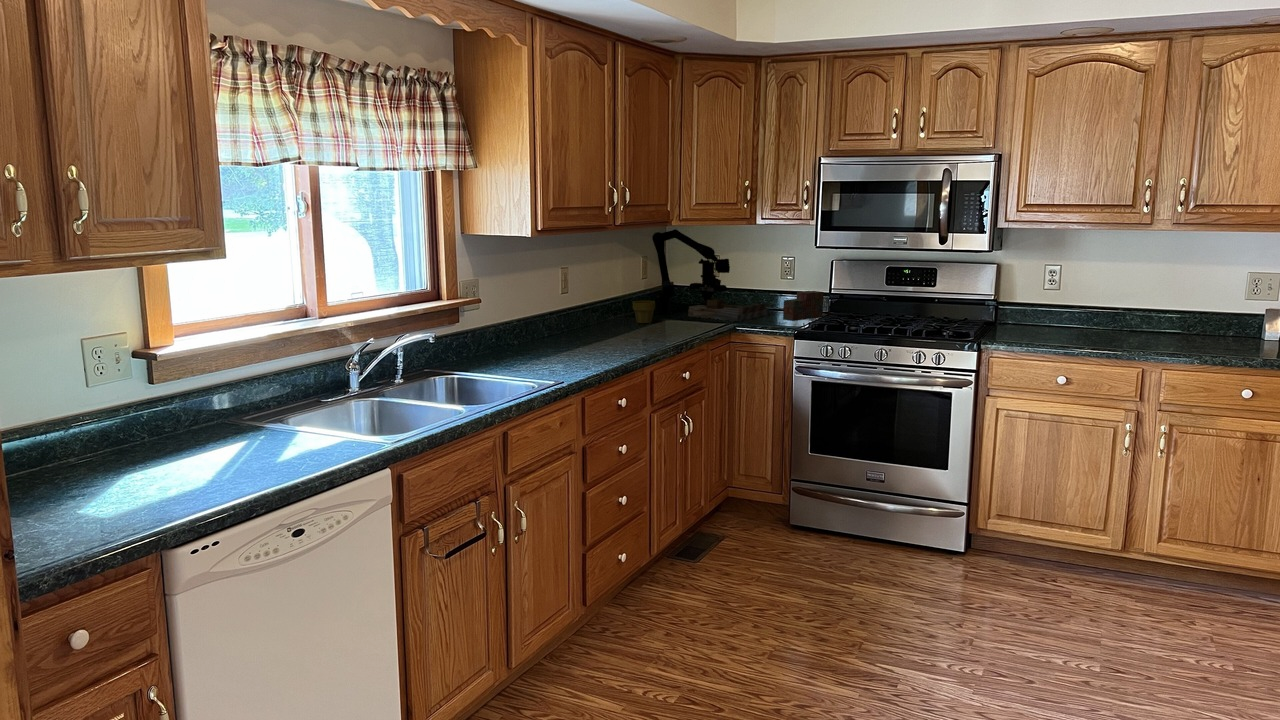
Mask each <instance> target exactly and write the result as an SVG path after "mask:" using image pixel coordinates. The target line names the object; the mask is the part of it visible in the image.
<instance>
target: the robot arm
mask: <svg viewBox="0 0 1280 720" xmlns="http://www.w3.org/2000/svg"><path fill="white" fill-rule="evenodd" d="M673 239H676V240H678V241H680V242H681V243H683V244H685V245H687V246H688V247H690V248H691V249H694V250H695V251H696V252H697V253H698V254H700V256H702V257H703V258H704V259H703V258H700V260H699V261H698V264H700V265H702V269H701V272H702V273H701V274H700V278H701V282H693V283H690V284H689V286H688V287H689V288H688V290H696V289H699V290H698V292H699V293H700V294H701V296H702V298H703V300H704V302H705V306H707V300H710V299H713V298H712V297H713V295H714V294H715V293H716V292H718V293H722V292H727V290H728V287H727V285H726V284H721V283H722V280H721V279H719V278H717V276H716V274H715V272H717V274H725V273H726V274H729V273H730V268H731V266H730V260H729V258H719V259H718V256H716V254H715V253H716V252H715V250H714V248H712V247H711V246H708V245H706V244H703V243H701V242H697V241H696V240H695V239H692V238H691V237H689V236H687V235H686V234H684V233H682V232H681V231H679V230H678V229H677V228H675V229H672V230H668V231H664V232H660V231H656V232H654V233H653V234H652V236H651V240H652V242H653V245H654V249H655V251H656V254H657V258H658V259H657V260H658V266H659V271H660V277H661V291H660V293H658V294H657V296H656V297H657V299H658V300H657V301H656V311H654V314H658V315H669V314H673V311H671V300H670V299H671V298H673V297H674V295H675V291H676V290H675V287H674V286H675V284H674V281H671V280H670V276H669V269H668V264H667V257H666V252H665V245H666V244H665V243H666V242H665V241H669V240H673ZM710 260H711V261H710Z"/></svg>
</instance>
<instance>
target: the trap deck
mask: <svg viewBox="0 0 1280 720" xmlns="http://www.w3.org/2000/svg"><path fill="white" fill-rule="evenodd" d="M687 311H688V314H687V315H688V317H689V318H691V317H693V318H699V317H701V319H708V318H711V319H712V320H717V319H719V320H718V321H726V320H729V321H728V322H735V321H739V322H743V321H748V320H752V319H757V318H761V317H762V318H763V317H767V316H770V308H767V307H766V303H764V302H763V303H762V302H761V303H756V304H750V305H744V306H743V305H734V304H725V303H724V308H721V309H710V308H707V305H704V304H703V305H702V304H697V305H696V304H695V305H692V306H688V310H687ZM711 319H710V320H711ZM742 320H743V321H742Z"/></svg>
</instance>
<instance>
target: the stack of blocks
mask: <svg viewBox="0 0 1280 720" xmlns="http://www.w3.org/2000/svg"><path fill="white" fill-rule="evenodd" d="M824 295H825V294H824V291H819V290H805V291H797V292H796V298H791V299H783V306H782V307H783V308H782V309H783V310H782V313H783V314H782V320H784V321H792V322H793V321H794V322H795V321H803V320H810V319H818V318H823V317H824Z"/></svg>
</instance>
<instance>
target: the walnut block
mask: <svg viewBox="0 0 1280 720" xmlns="http://www.w3.org/2000/svg"><path fill="white" fill-rule="evenodd" d="M724 304H725V300H724V299H721V298H711V299H710V300H707V305H706V306H707V308H710V309H721V308H724Z"/></svg>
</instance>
